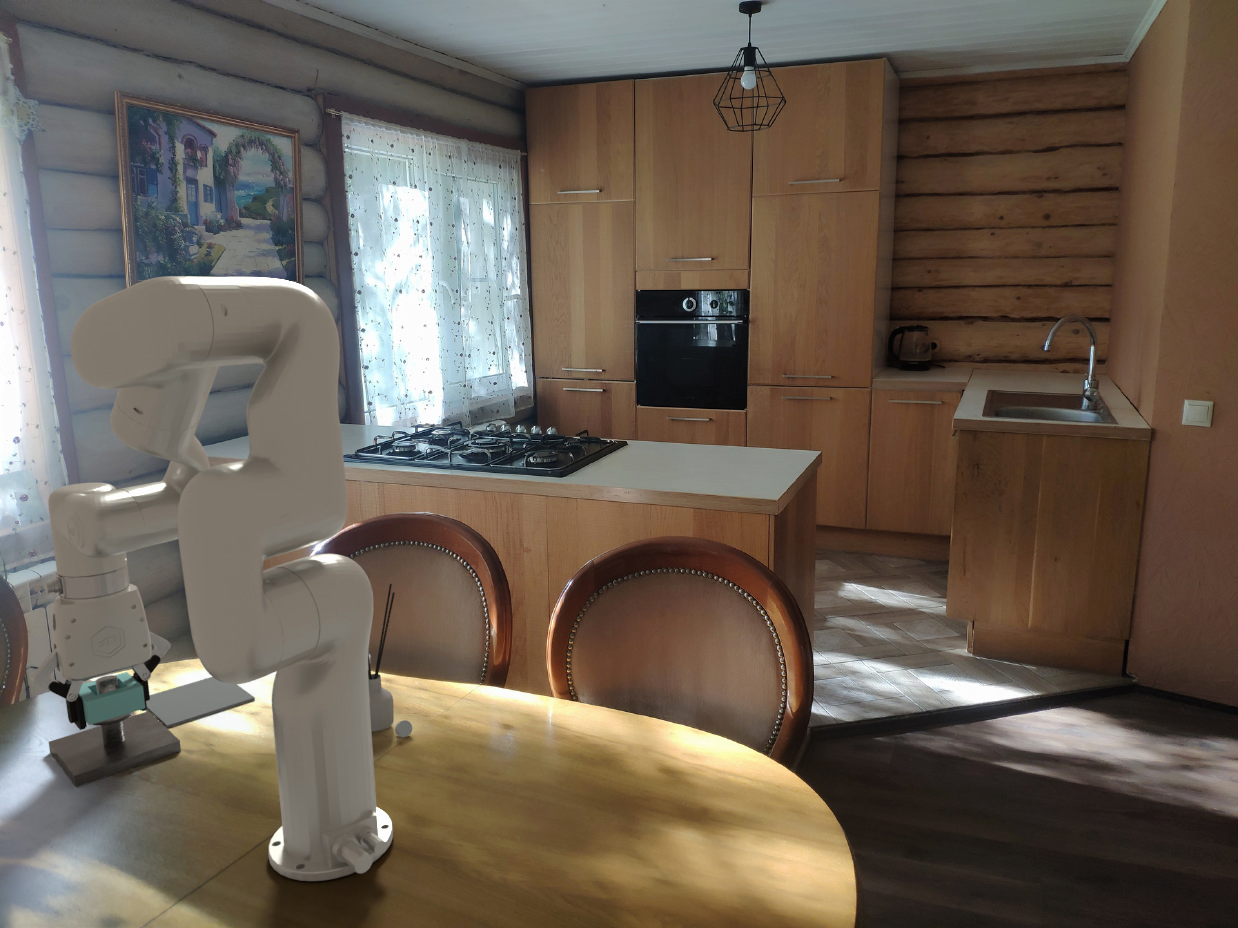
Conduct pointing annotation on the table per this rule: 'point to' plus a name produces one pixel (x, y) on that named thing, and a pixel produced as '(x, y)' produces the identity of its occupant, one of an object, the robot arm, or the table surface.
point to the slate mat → (195, 701)
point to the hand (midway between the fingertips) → (110, 715)
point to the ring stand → (113, 744)
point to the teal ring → (112, 699)
